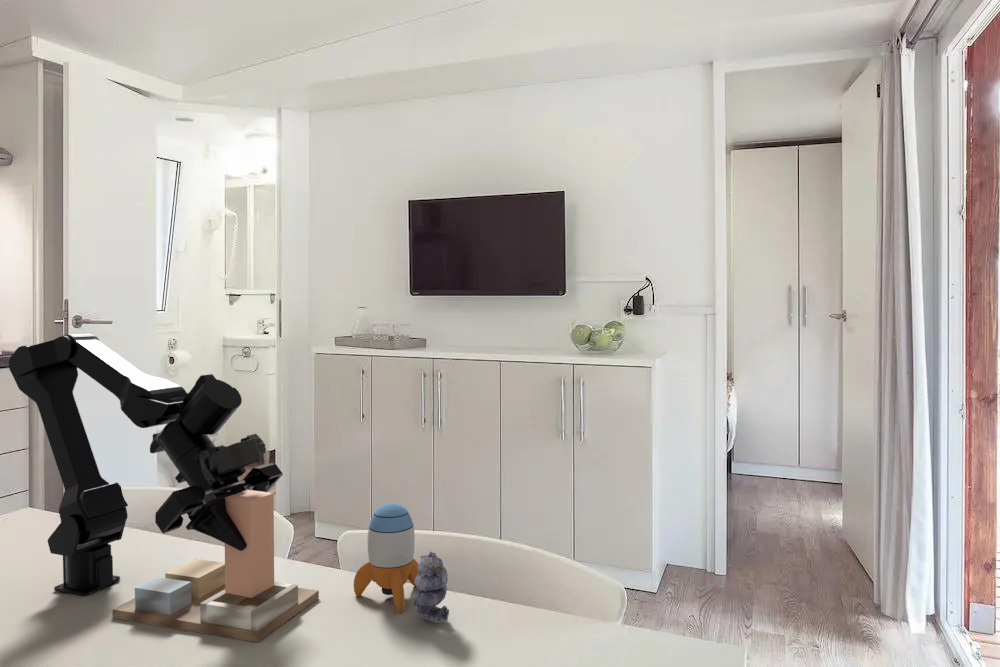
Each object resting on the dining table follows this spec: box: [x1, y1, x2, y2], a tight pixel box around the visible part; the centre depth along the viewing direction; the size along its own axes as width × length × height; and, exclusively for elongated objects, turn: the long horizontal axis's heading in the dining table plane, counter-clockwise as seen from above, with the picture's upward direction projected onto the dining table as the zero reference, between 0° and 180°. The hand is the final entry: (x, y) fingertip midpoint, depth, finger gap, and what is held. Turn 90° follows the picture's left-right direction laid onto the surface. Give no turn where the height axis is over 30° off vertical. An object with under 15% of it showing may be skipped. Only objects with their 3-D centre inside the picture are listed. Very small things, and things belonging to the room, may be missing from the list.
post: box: [224, 490, 275, 598], centre depth 93 cm, size 4×4×13 cm
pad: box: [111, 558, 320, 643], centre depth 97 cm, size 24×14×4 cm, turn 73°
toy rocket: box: [353, 502, 419, 614], centre depth 100 cm, size 10×11×15 cm
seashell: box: [411, 551, 450, 624], centre depth 92 cm, size 5×5×10 cm
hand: (257, 542), depth 93 cm, fingers closed on post, 4 cm apart
